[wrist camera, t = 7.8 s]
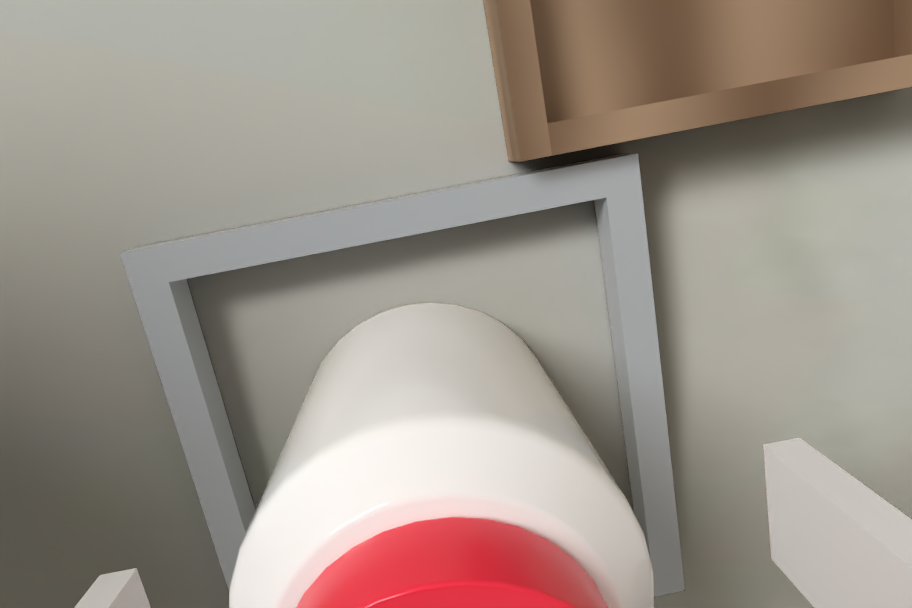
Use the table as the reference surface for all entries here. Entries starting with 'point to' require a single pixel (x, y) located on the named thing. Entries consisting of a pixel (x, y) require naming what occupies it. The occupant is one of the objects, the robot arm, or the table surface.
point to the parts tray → (603, 180)
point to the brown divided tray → (682, 64)
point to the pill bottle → (439, 482)
